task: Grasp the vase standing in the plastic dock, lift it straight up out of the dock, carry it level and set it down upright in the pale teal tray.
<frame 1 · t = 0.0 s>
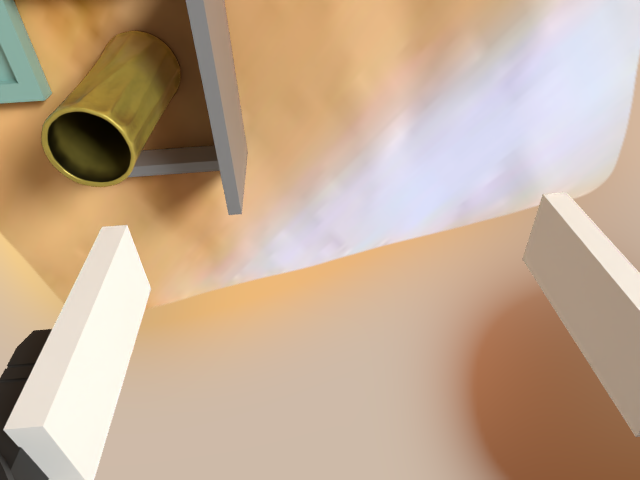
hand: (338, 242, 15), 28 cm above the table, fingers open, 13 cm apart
vase: (143, 68, 38), on the table
dock: (143, 69, 38), on the table
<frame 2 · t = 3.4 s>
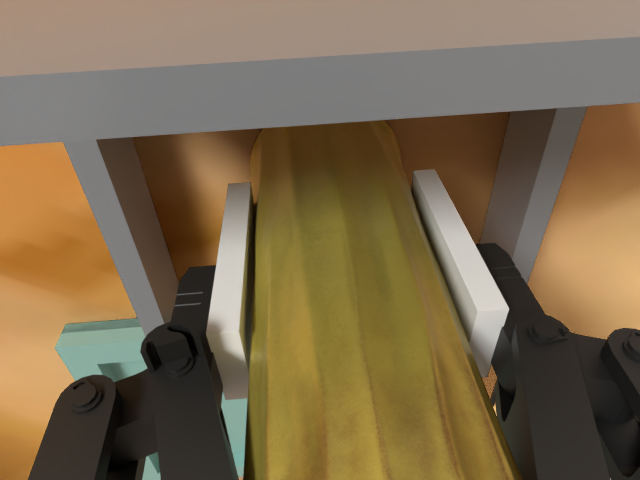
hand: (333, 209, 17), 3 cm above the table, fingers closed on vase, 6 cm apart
vase: (324, 164, 19), on the table, touching gripper
dock: (325, 167, 19), on the table
tray: (236, 394, 28), on the table
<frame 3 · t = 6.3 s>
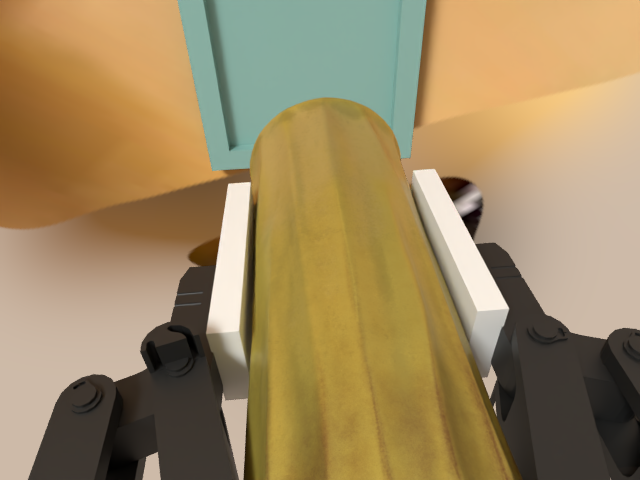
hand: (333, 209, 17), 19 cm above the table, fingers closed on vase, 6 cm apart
vase: (324, 164, 19), point 15 cm above the table, touching gripper
tray: (306, 55, 31), on the table
when the fingers open (5 cm above the table, at t = 9.6 s): vase drops 1 cm, resting on tray.
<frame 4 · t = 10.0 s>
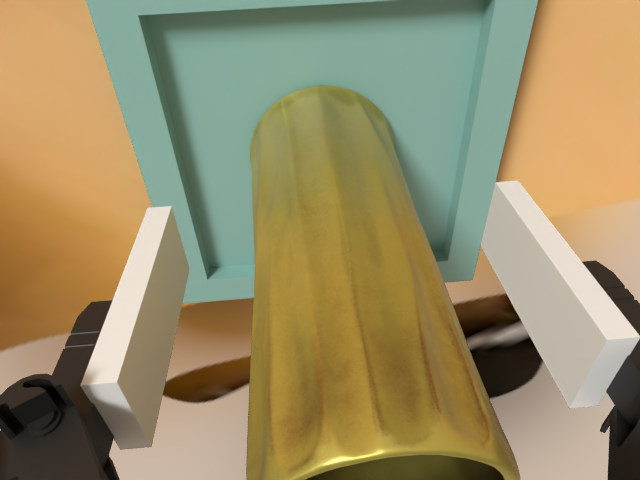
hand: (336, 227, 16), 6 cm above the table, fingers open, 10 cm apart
vase: (321, 150, 20), resting on tray
tray: (322, 146, 20), on the table
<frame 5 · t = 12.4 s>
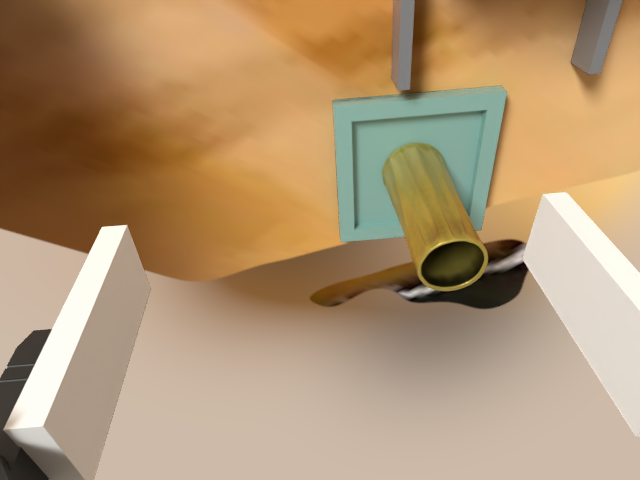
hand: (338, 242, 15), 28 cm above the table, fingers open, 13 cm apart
vase: (412, 169, 45), resting on tray
tray: (412, 167, 46), on the table
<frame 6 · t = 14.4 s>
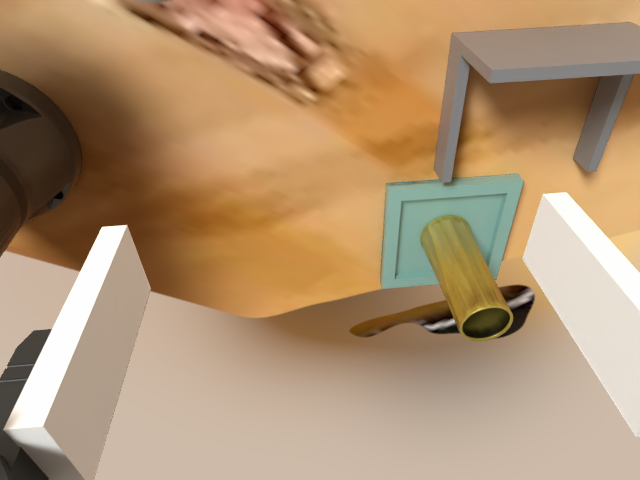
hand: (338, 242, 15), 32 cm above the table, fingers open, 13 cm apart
vase: (444, 233, 56), resting on tray
dock: (522, 106, 47), on the table
tray: (443, 231, 56), on the table
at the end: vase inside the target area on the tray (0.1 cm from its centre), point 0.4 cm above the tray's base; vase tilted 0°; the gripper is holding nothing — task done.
